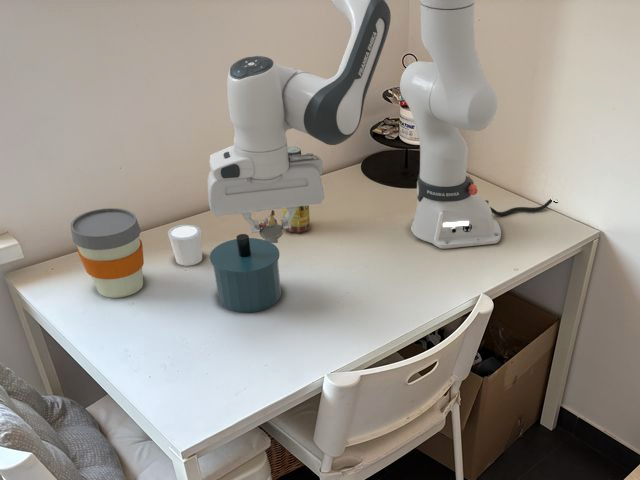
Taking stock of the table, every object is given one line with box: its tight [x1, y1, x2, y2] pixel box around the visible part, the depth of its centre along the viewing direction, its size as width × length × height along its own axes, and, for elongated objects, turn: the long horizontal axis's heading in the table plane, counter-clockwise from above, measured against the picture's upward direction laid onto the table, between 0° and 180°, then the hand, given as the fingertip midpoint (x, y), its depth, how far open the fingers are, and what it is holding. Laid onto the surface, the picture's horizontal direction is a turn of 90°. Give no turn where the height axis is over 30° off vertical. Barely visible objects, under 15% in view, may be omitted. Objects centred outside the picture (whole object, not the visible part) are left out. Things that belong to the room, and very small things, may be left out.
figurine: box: [258, 209, 284, 244], centre depth 130 cm, size 5×4×6 cm
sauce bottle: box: [282, 146, 311, 234], centre depth 168 cm, size 6×6×20 cm
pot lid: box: [209, 233, 280, 274], centre depth 142 cm, size 14×14×5 cm
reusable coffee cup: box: [69, 207, 145, 299], centre depth 144 cm, size 12×13×15 cm
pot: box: [213, 260, 282, 314], centre depth 146 cm, size 13×13×10 cm
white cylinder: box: [167, 224, 203, 267], centre depth 157 cm, size 7×7×7 cm
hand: (271, 229), depth 131 cm, fingers closed on figurine, 4 cm apart
